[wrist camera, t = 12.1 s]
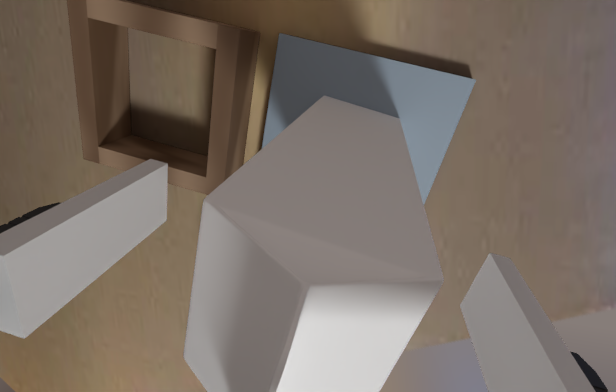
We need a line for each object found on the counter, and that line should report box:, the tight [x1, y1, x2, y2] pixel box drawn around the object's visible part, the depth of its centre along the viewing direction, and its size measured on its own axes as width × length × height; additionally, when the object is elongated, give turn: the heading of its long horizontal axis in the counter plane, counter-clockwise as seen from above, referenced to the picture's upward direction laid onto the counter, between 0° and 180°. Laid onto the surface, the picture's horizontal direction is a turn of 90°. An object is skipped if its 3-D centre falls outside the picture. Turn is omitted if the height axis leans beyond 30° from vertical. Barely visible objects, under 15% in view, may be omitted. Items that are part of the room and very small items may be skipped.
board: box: [262, 33, 476, 205], centre depth 26 cm, size 14×13×1 cm
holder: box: [67, 0, 260, 195], centre depth 26 cm, size 12×12×4 cm
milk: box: [184, 96, 444, 392], centre depth 16 cm, size 6×6×22 cm
